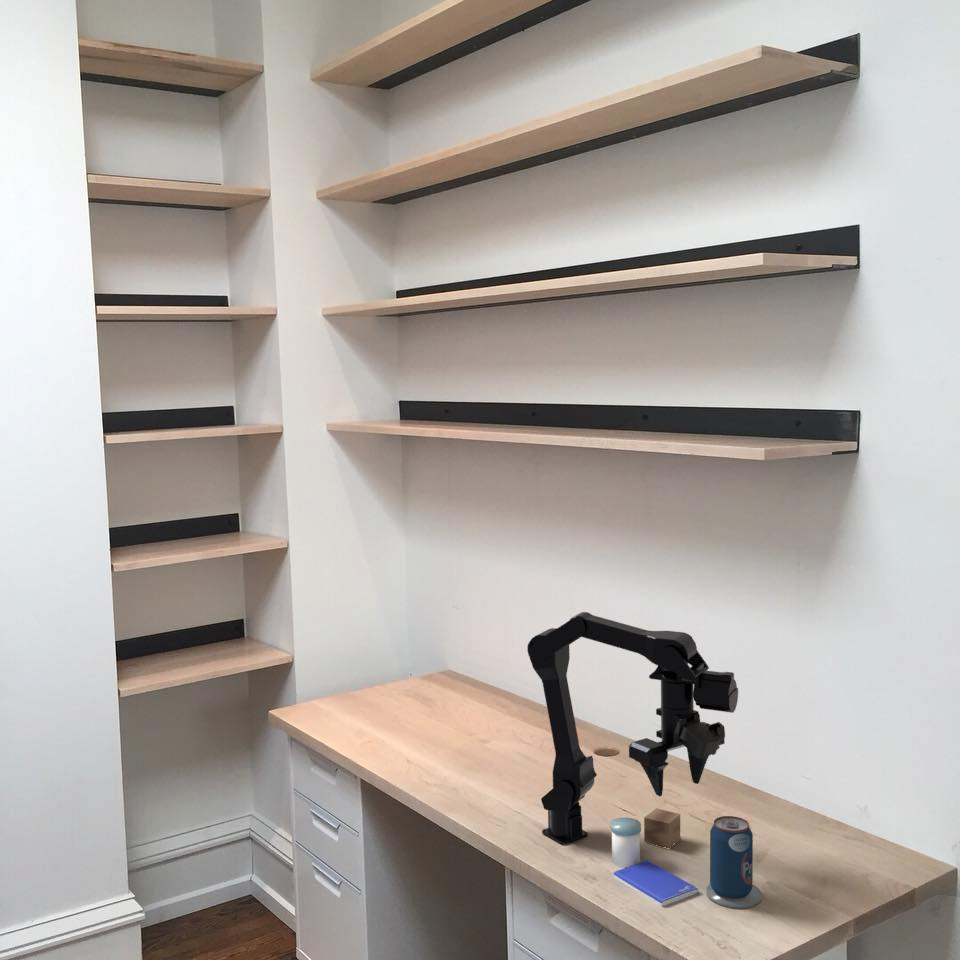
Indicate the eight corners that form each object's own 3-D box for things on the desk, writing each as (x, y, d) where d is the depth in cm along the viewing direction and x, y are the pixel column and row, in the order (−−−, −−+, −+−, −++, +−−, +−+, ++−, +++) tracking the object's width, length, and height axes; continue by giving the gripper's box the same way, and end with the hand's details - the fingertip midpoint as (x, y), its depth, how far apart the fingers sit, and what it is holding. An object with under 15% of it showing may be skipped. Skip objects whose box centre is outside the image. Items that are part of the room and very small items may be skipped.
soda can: (754, 903, 170) (754, 833, 169) (711, 900, 171) (711, 830, 170) (750, 883, 177) (750, 815, 176) (708, 880, 178) (709, 813, 177)
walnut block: (644, 843, 194) (644, 817, 194) (656, 833, 199) (656, 808, 198) (668, 849, 192) (668, 823, 191) (680, 839, 196) (680, 814, 195)
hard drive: (698, 886, 175) (648, 859, 186) (661, 900, 171) (613, 871, 181) (698, 895, 175) (648, 867, 186) (661, 909, 171) (613, 880, 181)
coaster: (695, 892, 175) (695, 889, 175) (731, 877, 180) (731, 873, 180) (736, 914, 168) (736, 910, 168) (773, 897, 173) (773, 894, 173)
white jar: (604, 859, 188) (604, 822, 187) (627, 851, 191) (626, 815, 190) (625, 871, 184) (624, 832, 183) (647, 862, 187) (647, 825, 186)
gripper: (671, 727, 173) (672, 817, 174) (747, 705, 183) (747, 790, 185) (626, 710, 182) (627, 796, 184) (701, 690, 193) (701, 772, 194)
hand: (677, 789), depth 186 cm, fingers open, 9 cm apart
